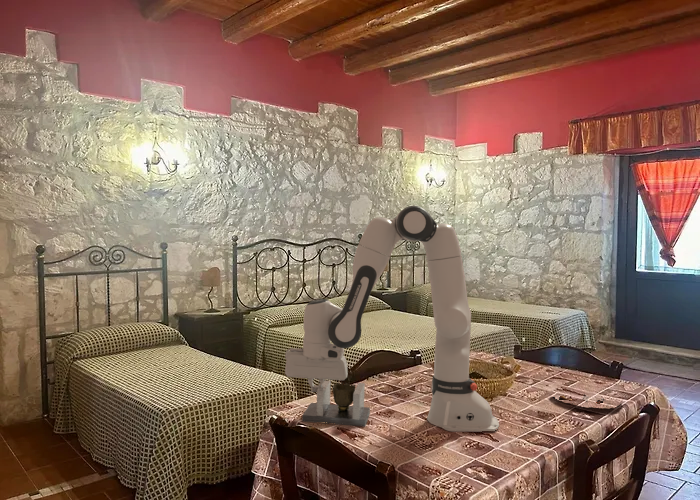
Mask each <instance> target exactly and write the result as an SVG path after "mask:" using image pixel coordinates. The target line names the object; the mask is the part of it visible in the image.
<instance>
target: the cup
mask: <svg viewBox="0 0 700 500" xmlns="http://www.w3.org/2000/svg"><path fill="white" fill-rule="evenodd" d="M355 389H356V385H355V384H353V383H351V384H350V383H349V382H348V383H347V382H345V383H343V382H341V383H339V382H337V383H336V384H335V383H334V384H333V386H332V395H333V400H334V403H335V405H338V409H339V410H340V411H347V410H349V406H352V405H353V394H354V391H355Z"/></svg>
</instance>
